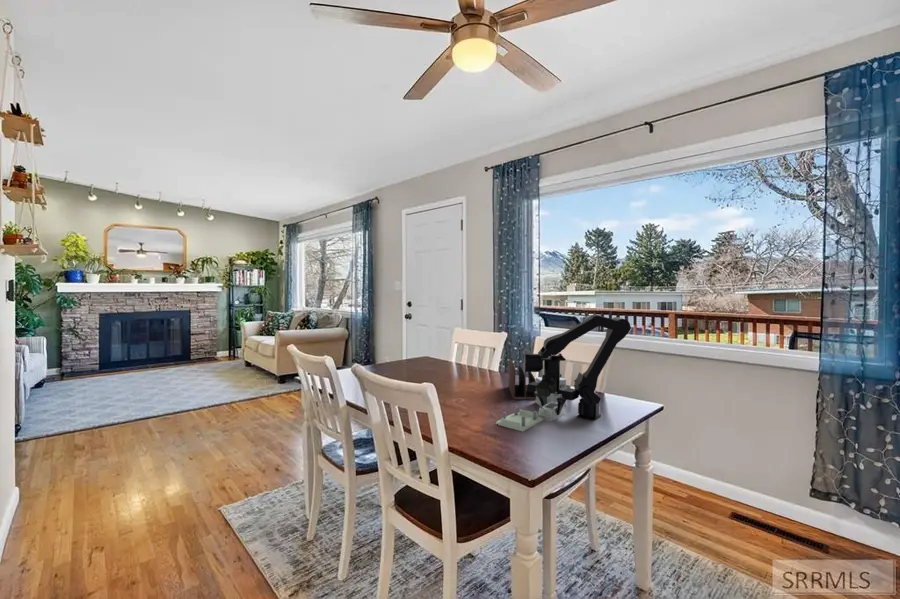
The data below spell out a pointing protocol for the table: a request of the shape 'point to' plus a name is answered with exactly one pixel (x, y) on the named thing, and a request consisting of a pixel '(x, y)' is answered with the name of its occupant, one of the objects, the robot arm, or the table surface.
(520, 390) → the letter holder
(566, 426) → the table surface
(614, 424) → the table surface
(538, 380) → the light bulb box
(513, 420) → the tray
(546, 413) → the block
